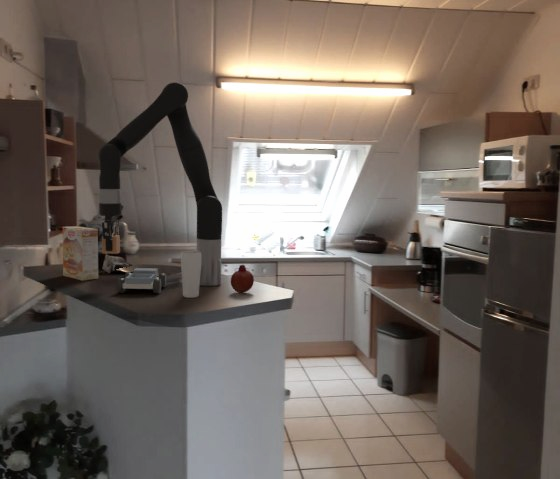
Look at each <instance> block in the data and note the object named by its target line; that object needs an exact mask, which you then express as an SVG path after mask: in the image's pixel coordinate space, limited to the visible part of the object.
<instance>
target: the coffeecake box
mask: <svg viewBox="0 0 560 479" xmlns="http://www.w3.org/2000/svg"><path fill="white" fill-rule="evenodd" d="M98 230H99V229H98V228H92V227H91V228H90V227H85V226H62V230H61V231H62V276H63V277H67V278H70V279H75V280H78V281H83V282H84V281H89V280H91V281H92V280H98V279H99V245H98V244H99V242H98V241H99V240H98V238H99V237H98V236H99V234H98V233H99V231H98Z"/></svg>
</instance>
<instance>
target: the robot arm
mask: <svg viewBox="0 0 560 479" xmlns="http://www.w3.org/2000/svg"><path fill="white" fill-rule="evenodd" d="M188 100H189V92H188V89H187V87H186V86H185V85H184V84H183V83H180V82H170V83H168V84H166V85H165V86H164V87H163V89H162V91H161V92H160V94H159V95H158V96H157V97H156V99H155V100H154V101H153V102H152V103H151V104H150V105H148V107H147V108H146V109H144V110H143V111H142V112H141V113H139V115H137V116H136V117H135V118H133V119H132V120H131V121H130V122H129V123H128V124H127V125H125V126H124V127H123V128H122V129H121V130H119V132H118V133H117V135H115V136H114V137H113V138H112V139H110V140H109V141H108V142H107V143H106V144H104V145H102V147H100V149H99V150H98V153H97V155H98V156H97V157H98V160H99V170H100V172H99V182H98V183H99V185H98V186H99V191H98V209H99V210H98V213H99V214H98V215H99V216H101V217H104V221H103V222H101V227H102V228H101V229H102V230H101V231H102V236H103V239H105V240H106V251H112V250H113V245H112V239H113V235H119V234H120V233H119V231H120V230H119V229H120V228H119V226H120V225H119V224H120V220H119V219H117V217H119V216H122V212H123V211H122V193H121V174H120V173H121V161H122V160H121V158H122V157H123V156H124V155H125V154H127V153H128V152H129V151H130V150H132V149H133V148H135V147H136V145H138V144H139V143H140V142H141V141H142V140H143V139H144V138H145V137H146V136H148V134H150V133H151V131H152V130H153V129H154V128H155V127H156V126H157V125H158V124H159V123H160V122H161V121H162V120H163V119H164V118H166V117H167V119H168V121H169V124H170V127H171V129H172V134H173V139H174V142H175V146H176V150H177V153H178V156H179V158H180V163H181V165H182V168H183V169H184V172H185V174H186V176H187V178H188V181H189V182H190V184H191V188H192V191H193V194H194V198H195V204H196V251H199V252H201V259H202V261H201V274H200V285H199V286H205V287H207V286H209V287H211V286H221V285H222V284H221V283H222V232H223V205H222V203H221V201H220V200H219V198H218V196H217V194H216V192H215V189H214V187H213V184H212V180H211V177H210V176H211V175H210V169H209V164H208V159H207V156H206V152H205V150H204V146H203V143H202V141H201V139H200V136H199V135H198V133H197V132H196V130H195V128H194V126H193V125H192V123H191V119H190V116H189V114H188V109H187V102H188ZM107 235H109V236H107Z"/></svg>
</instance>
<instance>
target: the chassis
mask: <svg viewBox="0 0 560 479" xmlns="http://www.w3.org/2000/svg"><path fill="white" fill-rule="evenodd" d="M157 276H159V277H157ZM166 286H167V273H165V272H164V273H162V272H161V273H160V272H159V268H158V267H157V268H150V267H149V268H148V267H147V268H144V267H142V268H141V267H134V270H133V273H124V278H123V277H121V278H120V277H118V279H117V281H116V292H117V293H118V294H125V293H126V290H127V289H136V290H143V289H144V290H152V293H153V294H161V292H162V288H166Z"/></svg>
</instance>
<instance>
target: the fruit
mask: <svg viewBox="0 0 560 479" xmlns="http://www.w3.org/2000/svg"><path fill="white" fill-rule="evenodd" d="M254 282H255V279H254V275H253V273H252V272H251V271H249V270H248V269H247V267H246V266H245V264H240V265H239V267H238V270H236V271H234V273H233V274H232V275H231V277H230V286H231V287H232V289H233V290H234V291H235V292H237V293H241V294H243V293H246V292H248V291H250V290H251V289H252V287H253V285H254Z"/></svg>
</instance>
